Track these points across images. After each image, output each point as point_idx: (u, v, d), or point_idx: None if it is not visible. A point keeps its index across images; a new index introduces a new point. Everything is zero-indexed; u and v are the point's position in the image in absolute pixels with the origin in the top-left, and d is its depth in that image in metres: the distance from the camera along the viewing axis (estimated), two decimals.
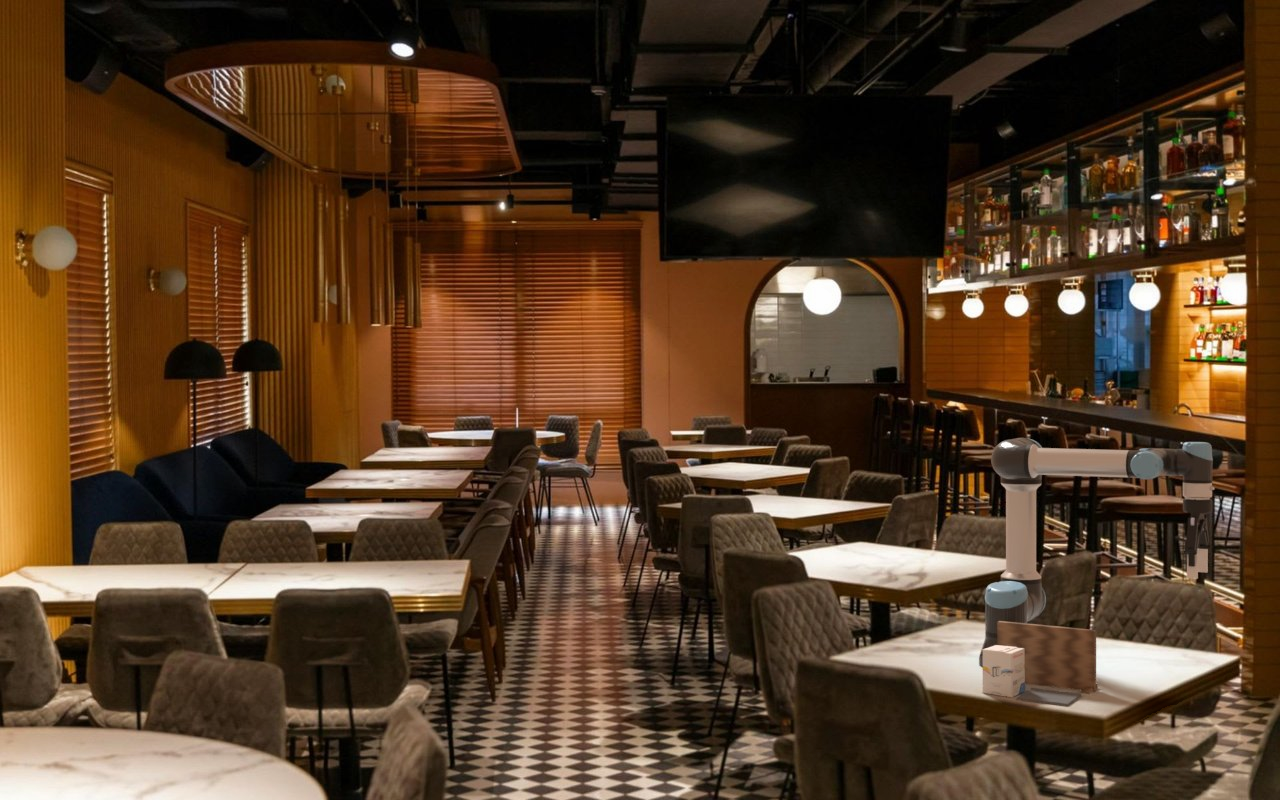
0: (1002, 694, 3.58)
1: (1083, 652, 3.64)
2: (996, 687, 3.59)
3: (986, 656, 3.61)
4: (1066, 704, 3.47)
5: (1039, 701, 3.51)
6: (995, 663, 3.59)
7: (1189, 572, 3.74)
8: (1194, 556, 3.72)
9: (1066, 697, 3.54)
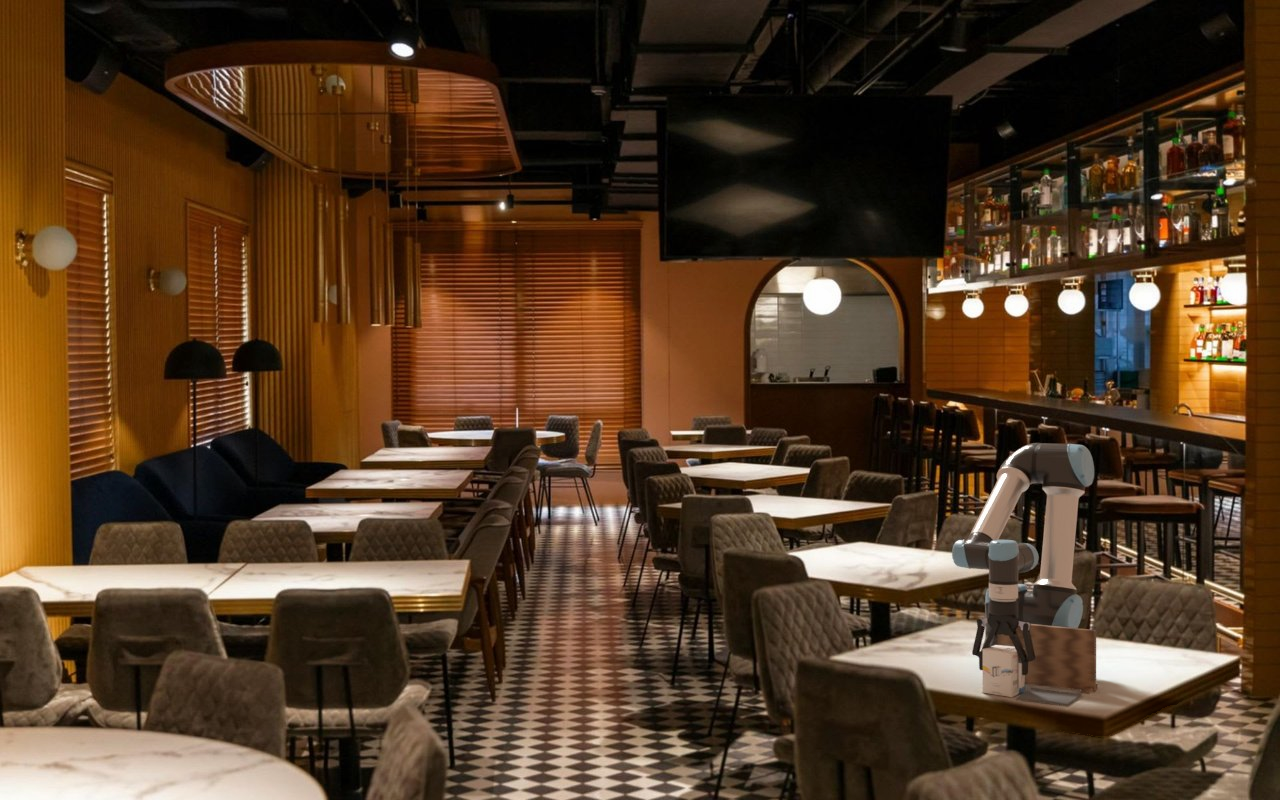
0: (1002, 694, 3.58)
1: (1083, 652, 3.64)
2: (996, 687, 3.59)
3: (986, 656, 3.61)
4: (1066, 704, 3.47)
5: (1039, 701, 3.51)
6: (995, 662, 3.59)
7: None
8: (981, 660, 3.65)
9: (1066, 697, 3.54)
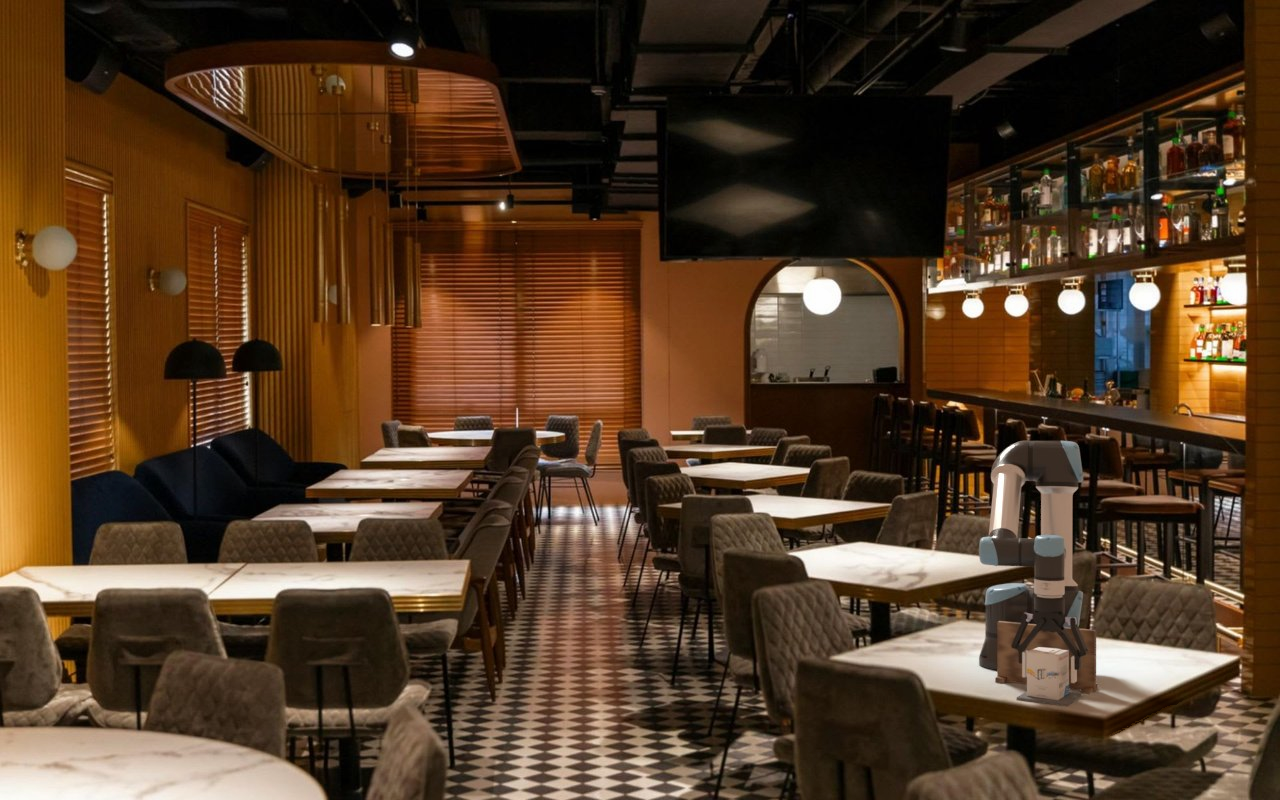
0: (1048, 697, 3.52)
1: None
2: (1041, 690, 3.53)
3: (1030, 658, 3.54)
4: (1066, 704, 3.47)
5: (1039, 701, 3.51)
6: (1040, 665, 3.53)
7: None
8: (1020, 653, 3.59)
9: (1066, 697, 3.54)
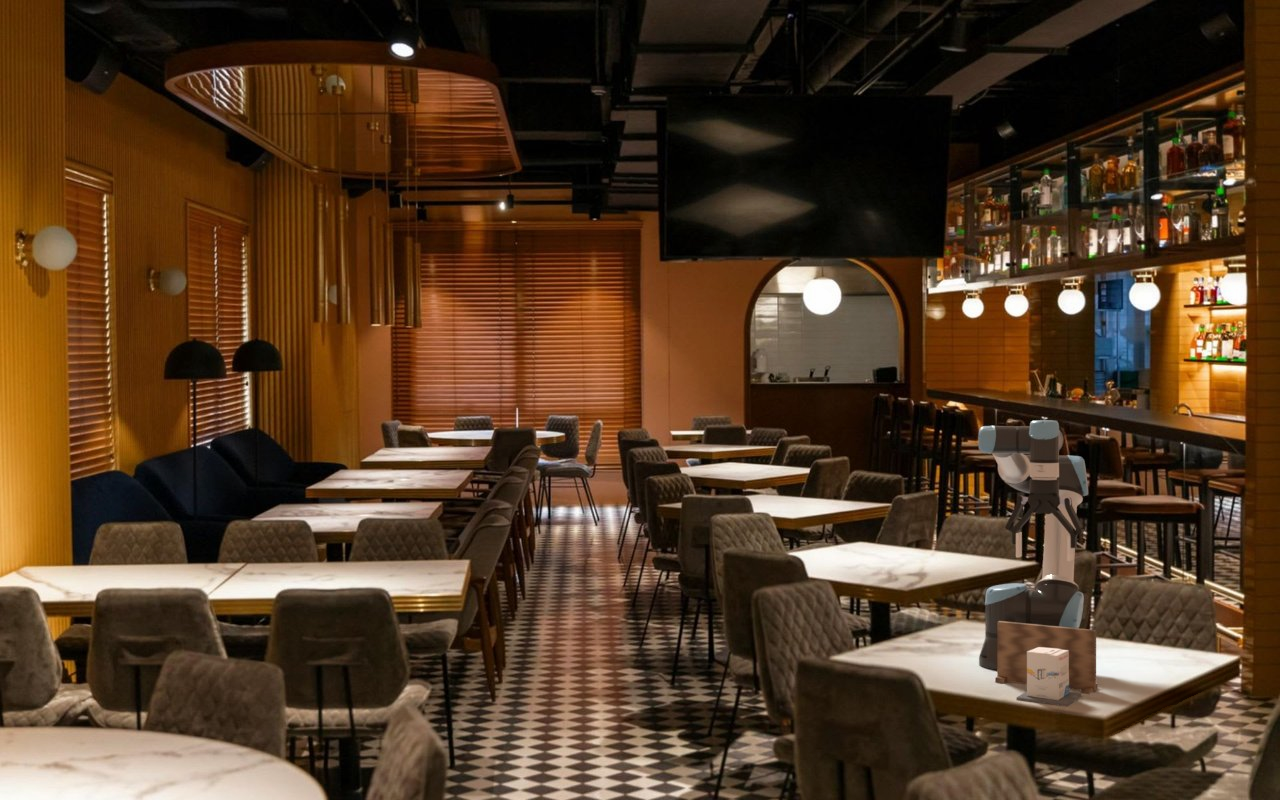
0: (1048, 697, 3.52)
1: (1083, 652, 3.64)
2: (1041, 690, 3.53)
3: (1030, 658, 3.54)
4: (1066, 704, 3.47)
5: (1039, 701, 3.51)
6: (1040, 665, 3.53)
7: None
8: (1014, 534, 3.68)
9: (1066, 697, 3.54)
